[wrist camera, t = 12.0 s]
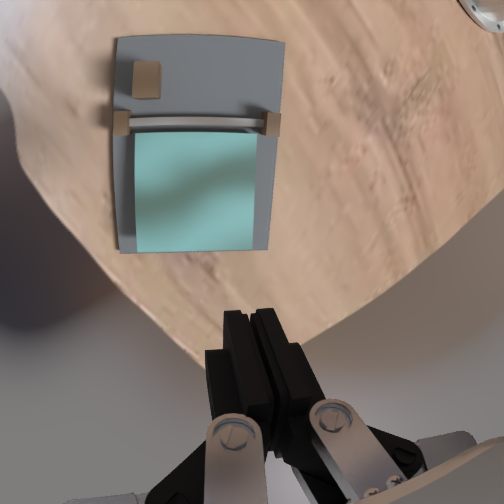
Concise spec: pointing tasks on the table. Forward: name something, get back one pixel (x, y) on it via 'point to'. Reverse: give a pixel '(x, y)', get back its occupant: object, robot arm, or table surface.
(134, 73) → the hinge stand
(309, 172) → the table surface
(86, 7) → the table surface
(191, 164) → the tile
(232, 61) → the mat board
